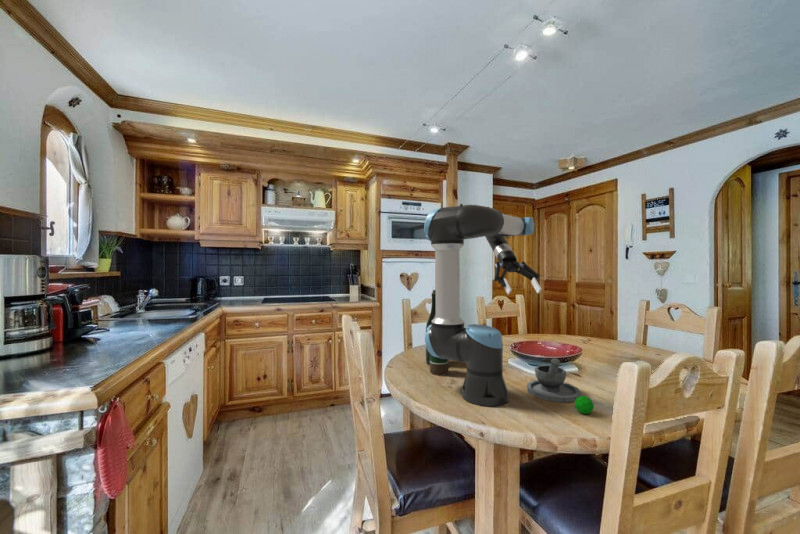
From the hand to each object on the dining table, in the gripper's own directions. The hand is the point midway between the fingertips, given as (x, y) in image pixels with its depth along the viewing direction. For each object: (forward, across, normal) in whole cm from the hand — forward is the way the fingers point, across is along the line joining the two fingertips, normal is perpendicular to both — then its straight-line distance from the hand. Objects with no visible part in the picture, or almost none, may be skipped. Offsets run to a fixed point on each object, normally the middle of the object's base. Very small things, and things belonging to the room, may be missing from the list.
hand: (524, 291), depth 136 cm
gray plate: (+38, +4, -8) cm, 39 cm away
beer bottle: (+18, +34, -29) cm, 48 cm away
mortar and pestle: (+38, +4, -8) cm, 39 cm away
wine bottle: (+9, +31, -38) cm, 50 cm away
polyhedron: (+50, +5, +3) cm, 50 cm away
